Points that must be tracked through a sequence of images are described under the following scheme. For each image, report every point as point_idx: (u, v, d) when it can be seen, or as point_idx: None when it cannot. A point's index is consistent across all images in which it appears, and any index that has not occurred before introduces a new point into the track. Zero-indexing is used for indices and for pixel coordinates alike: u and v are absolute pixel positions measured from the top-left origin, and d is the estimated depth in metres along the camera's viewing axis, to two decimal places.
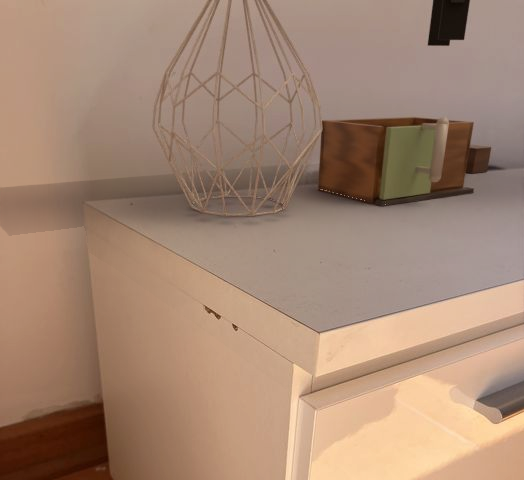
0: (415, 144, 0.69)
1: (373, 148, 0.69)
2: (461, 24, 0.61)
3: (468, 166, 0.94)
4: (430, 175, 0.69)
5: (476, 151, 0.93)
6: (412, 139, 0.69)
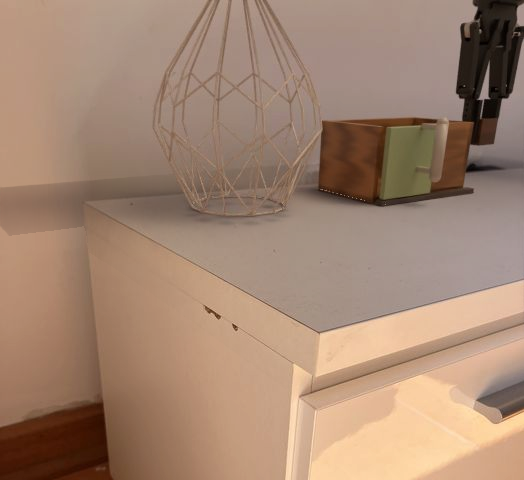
0: (415, 144, 0.69)
1: (373, 148, 0.69)
2: (472, 134, 0.92)
3: None
4: (430, 175, 0.69)
5: (483, 122, 0.91)
6: (412, 139, 0.69)
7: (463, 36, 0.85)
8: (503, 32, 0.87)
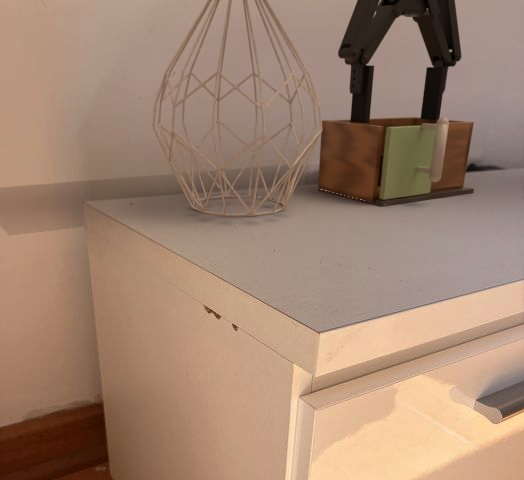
0: (415, 144, 0.69)
1: (373, 148, 0.69)
2: (363, 110, 0.71)
3: None
4: (430, 175, 0.69)
5: None
6: (412, 139, 0.69)
7: None
8: None
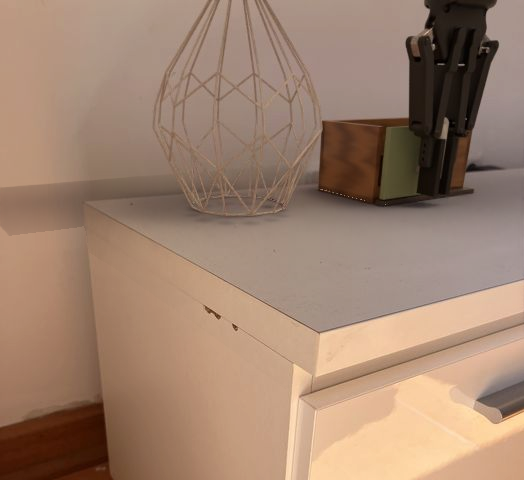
0: (415, 144, 0.69)
1: (373, 148, 0.69)
2: (431, 183, 0.68)
3: None
4: None
5: None
6: (412, 139, 0.69)
7: (411, 55, 0.61)
8: (466, 45, 0.62)
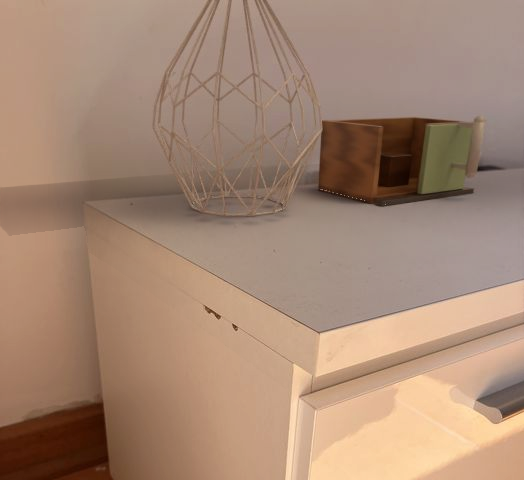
0: (451, 142, 0.73)
1: (373, 148, 0.69)
2: None
3: (384, 177, 0.77)
4: (466, 171, 0.72)
5: (391, 160, 0.76)
6: (449, 137, 0.72)
7: None
8: None
